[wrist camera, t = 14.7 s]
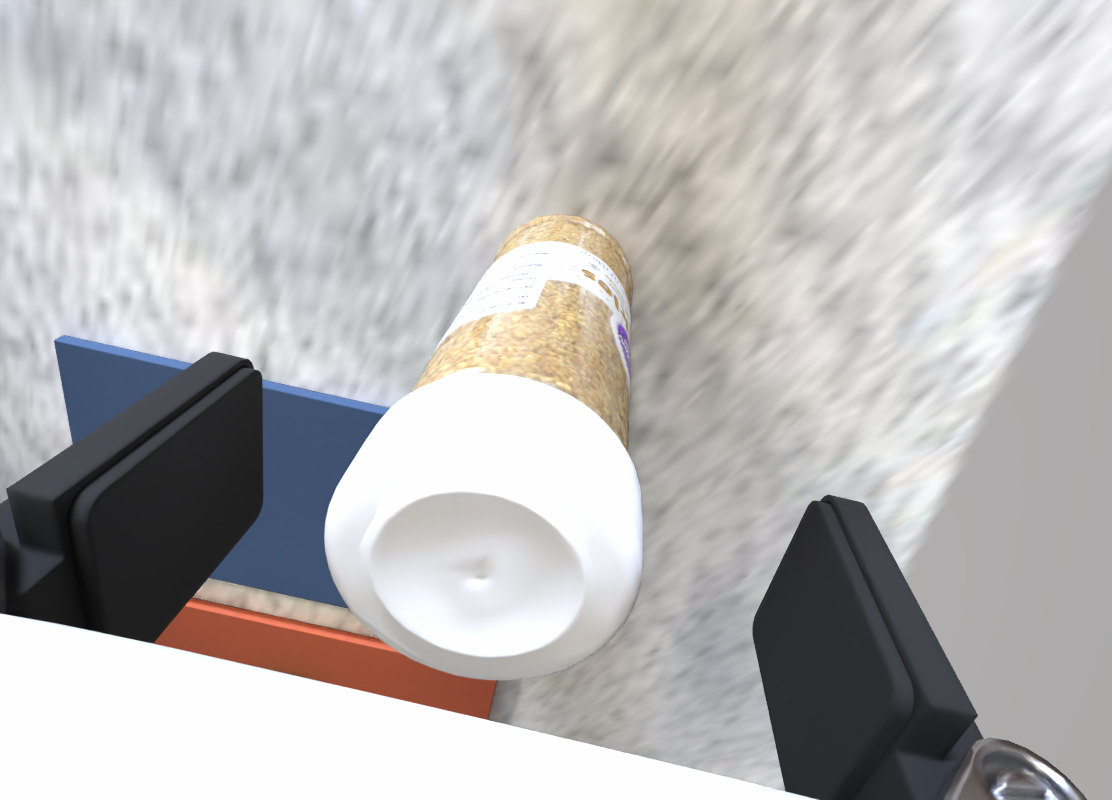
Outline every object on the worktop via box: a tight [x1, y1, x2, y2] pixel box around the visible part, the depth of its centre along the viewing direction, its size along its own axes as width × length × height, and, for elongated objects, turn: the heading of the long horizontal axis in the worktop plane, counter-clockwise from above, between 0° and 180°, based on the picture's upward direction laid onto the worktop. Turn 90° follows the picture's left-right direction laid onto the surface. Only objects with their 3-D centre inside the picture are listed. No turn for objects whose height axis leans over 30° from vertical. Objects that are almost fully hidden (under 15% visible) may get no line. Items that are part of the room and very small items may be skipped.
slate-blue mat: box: [54, 335, 390, 608], centre depth 26 cm, size 18×10×1 cm, turn 78°
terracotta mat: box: [154, 598, 497, 720], centre depth 31 cm, size 18×10×1 cm, turn 78°
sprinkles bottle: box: [324, 215, 643, 680], centre depth 15 cm, size 5×5×13 cm
